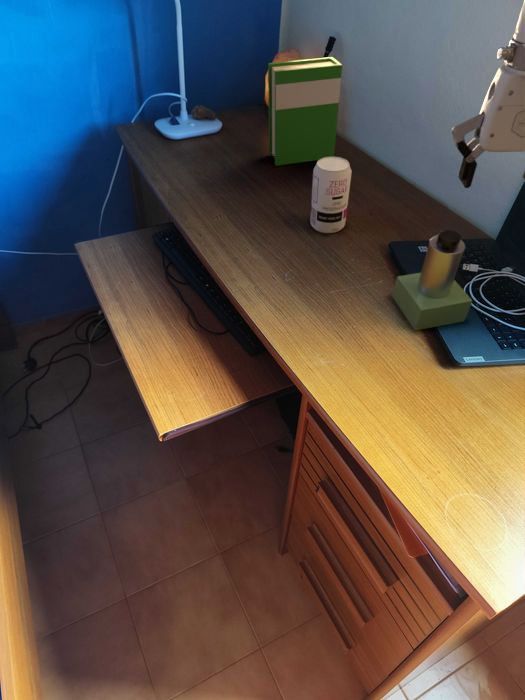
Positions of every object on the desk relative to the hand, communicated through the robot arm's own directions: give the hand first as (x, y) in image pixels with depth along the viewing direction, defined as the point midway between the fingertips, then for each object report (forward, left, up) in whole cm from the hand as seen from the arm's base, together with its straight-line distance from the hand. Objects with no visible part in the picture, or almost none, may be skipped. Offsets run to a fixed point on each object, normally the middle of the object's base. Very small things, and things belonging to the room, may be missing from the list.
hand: (496, 182), depth 72 cm
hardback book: (+27, -67, -25) cm, 76 cm away
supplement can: (+22, -29, -25) cm, 44 cm away
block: (+5, +1, -25) cm, 25 cm away
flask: (+5, +1, -20) cm, 21 cm away
